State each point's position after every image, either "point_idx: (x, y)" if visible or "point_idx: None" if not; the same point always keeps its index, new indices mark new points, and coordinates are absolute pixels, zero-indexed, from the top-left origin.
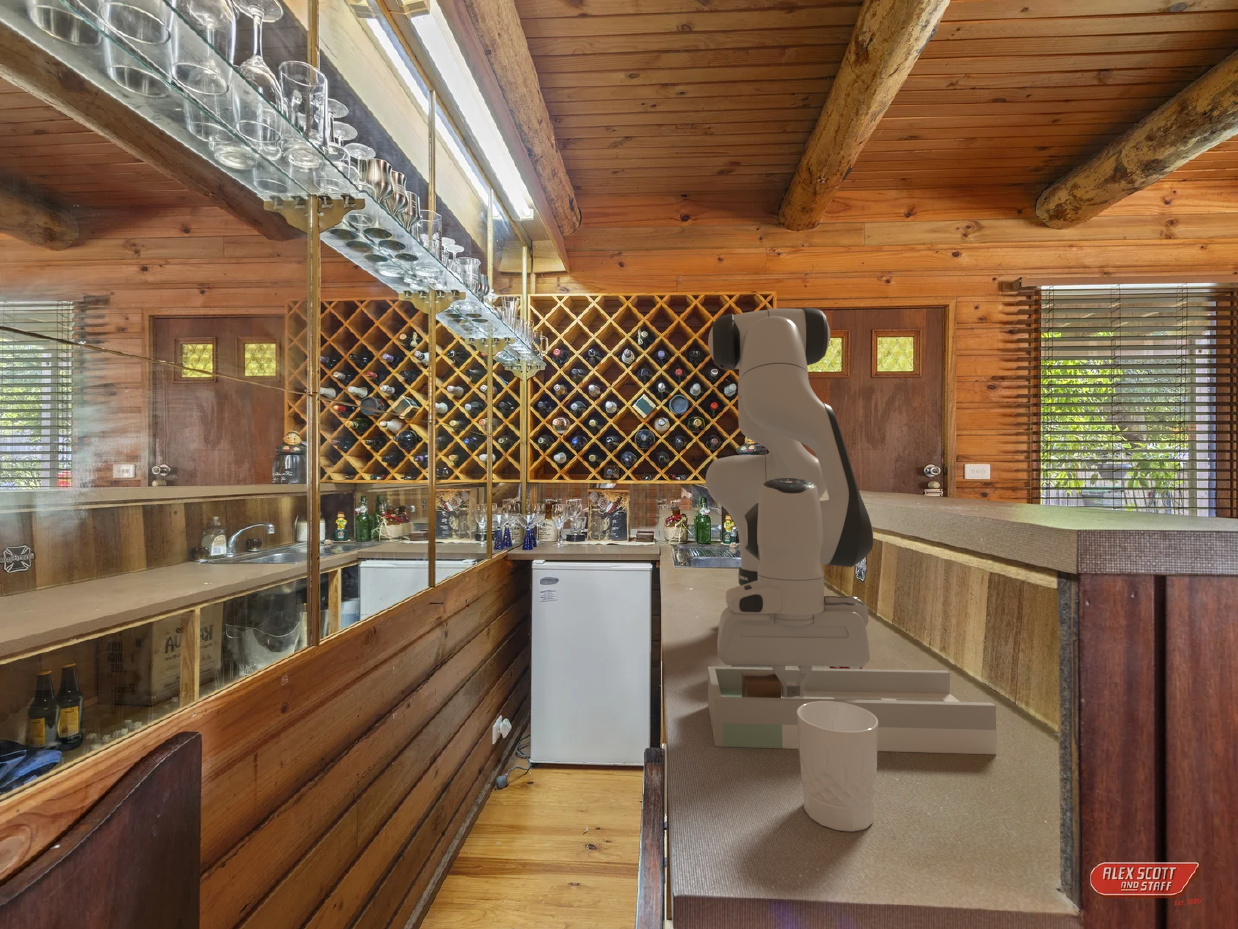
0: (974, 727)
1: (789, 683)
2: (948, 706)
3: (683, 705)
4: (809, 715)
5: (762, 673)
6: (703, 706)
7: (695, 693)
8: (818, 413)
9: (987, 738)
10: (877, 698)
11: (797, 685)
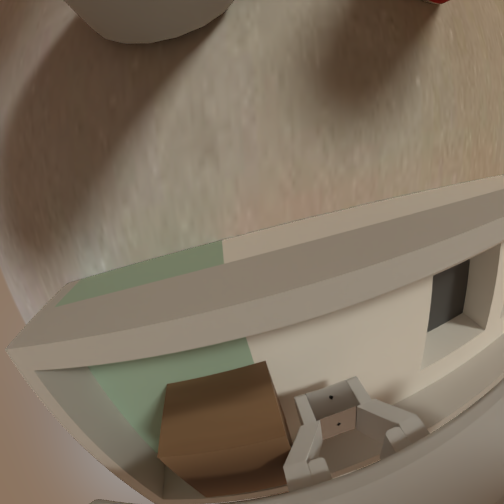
0: None
1: (331, 427)
2: None
3: (23, 291)
4: None
5: (241, 461)
6: (57, 284)
7: (15, 197)
8: None
9: None
10: (497, 244)
11: (352, 427)
